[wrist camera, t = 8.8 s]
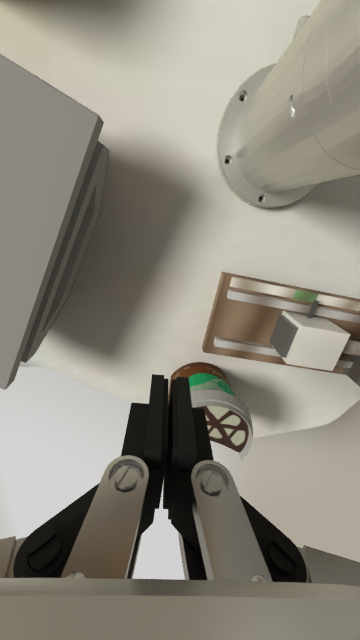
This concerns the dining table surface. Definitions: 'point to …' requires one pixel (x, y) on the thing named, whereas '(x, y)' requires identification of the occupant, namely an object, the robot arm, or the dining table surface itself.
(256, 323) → the gauge board
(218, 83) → the dining table surface
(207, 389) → the food container
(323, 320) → the gauge carriage
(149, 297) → the dining table surface
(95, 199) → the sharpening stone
